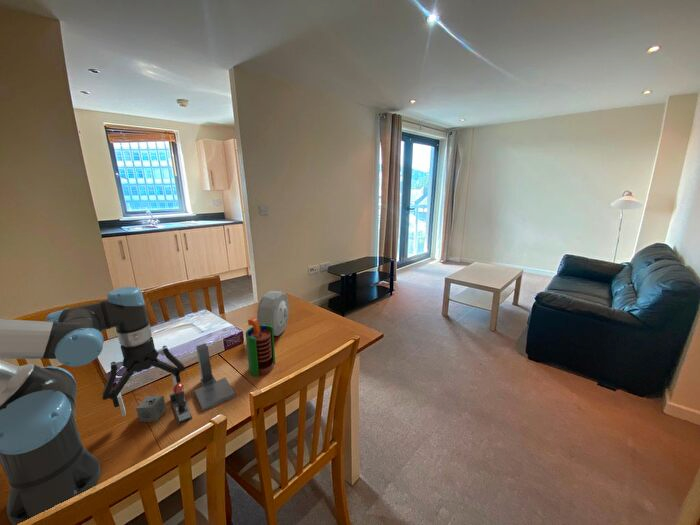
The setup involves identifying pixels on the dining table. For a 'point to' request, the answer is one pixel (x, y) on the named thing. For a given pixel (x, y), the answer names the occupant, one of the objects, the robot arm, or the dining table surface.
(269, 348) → the motor
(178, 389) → the lever
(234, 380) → the dining table surface
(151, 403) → the dice cube
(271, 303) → the dial
